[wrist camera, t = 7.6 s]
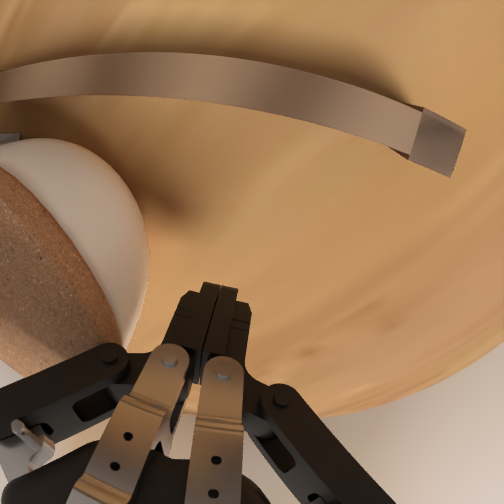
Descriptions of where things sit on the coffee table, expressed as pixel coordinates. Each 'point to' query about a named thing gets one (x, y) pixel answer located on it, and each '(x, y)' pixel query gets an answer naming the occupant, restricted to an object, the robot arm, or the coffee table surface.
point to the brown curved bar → (247, 96)
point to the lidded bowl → (66, 254)
